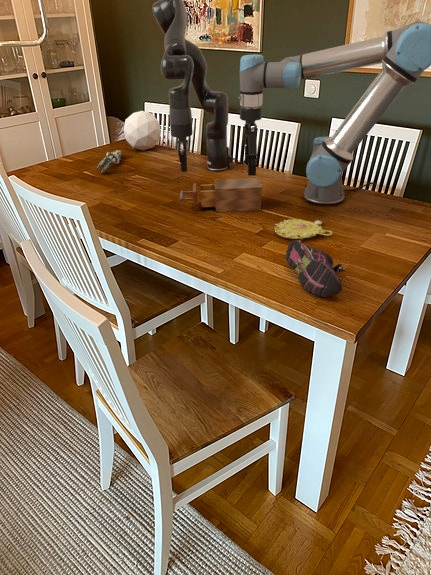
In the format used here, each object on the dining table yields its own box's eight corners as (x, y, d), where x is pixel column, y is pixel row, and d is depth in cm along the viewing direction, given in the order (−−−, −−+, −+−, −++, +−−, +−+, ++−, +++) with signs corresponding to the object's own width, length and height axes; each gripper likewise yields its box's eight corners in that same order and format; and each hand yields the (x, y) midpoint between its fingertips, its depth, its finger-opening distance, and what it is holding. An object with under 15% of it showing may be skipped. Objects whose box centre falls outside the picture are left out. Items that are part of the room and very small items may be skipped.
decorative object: (286, 211, 157) (342, 219, 147) (286, 217, 158) (341, 226, 148) (260, 233, 142) (319, 243, 133) (260, 240, 144) (319, 251, 134)
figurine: (101, 154, 197) (119, 141, 223) (91, 167, 200) (110, 152, 227) (114, 165, 199) (130, 151, 225) (103, 178, 203) (121, 162, 229)
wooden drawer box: (215, 212, 163) (215, 188, 158) (215, 201, 172) (214, 179, 167) (260, 210, 163) (261, 187, 158) (257, 200, 172) (258, 177, 167)
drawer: (180, 210, 163) (178, 192, 159) (181, 201, 170) (179, 183, 167) (235, 208, 163) (235, 190, 159) (233, 199, 171) (233, 181, 167)
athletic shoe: (328, 286, 106) (368, 278, 110) (289, 224, 118) (325, 219, 122) (312, 314, 115) (349, 305, 119) (276, 254, 127) (311, 248, 131)
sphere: (136, 161, 242) (117, 128, 240) (167, 143, 245) (148, 111, 242) (135, 152, 224) (114, 116, 221) (169, 133, 226) (148, 97, 223)
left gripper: (170, 117, 156) (174, 166, 165) (168, 125, 145) (172, 177, 154) (192, 116, 156) (194, 165, 165) (191, 125, 145) (194, 176, 154)
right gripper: (237, 100, 159) (237, 159, 170) (242, 114, 138) (242, 181, 149) (258, 99, 159) (256, 158, 170) (266, 114, 138) (264, 180, 149)
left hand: (184, 171), depth 160 cm, fingers closed
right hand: (250, 169), depth 160 cm, fingers open, 13 cm apart
